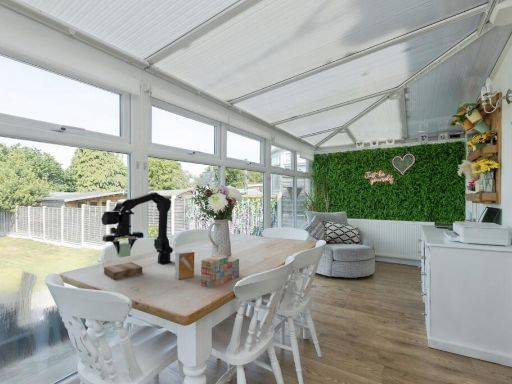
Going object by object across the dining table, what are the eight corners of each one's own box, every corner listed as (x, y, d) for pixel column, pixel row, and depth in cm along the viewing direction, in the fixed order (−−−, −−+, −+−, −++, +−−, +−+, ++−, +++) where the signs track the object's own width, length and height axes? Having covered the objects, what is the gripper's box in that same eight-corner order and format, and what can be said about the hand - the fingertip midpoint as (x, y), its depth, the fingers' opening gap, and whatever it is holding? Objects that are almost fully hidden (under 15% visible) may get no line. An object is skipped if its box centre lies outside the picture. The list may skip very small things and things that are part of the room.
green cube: (126, 254, 140) (126, 243, 140) (130, 255, 137) (130, 244, 137) (116, 255, 136) (116, 244, 136) (120, 257, 133) (120, 245, 133)
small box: (178, 279, 128) (179, 253, 128) (174, 276, 133) (175, 251, 134) (194, 277, 133) (194, 251, 133) (190, 273, 138) (190, 249, 138)
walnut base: (131, 269, 146) (131, 262, 146) (142, 274, 137) (142, 267, 137) (103, 274, 136) (104, 266, 136) (113, 281, 127) (113, 272, 127)
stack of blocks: (229, 274, 139) (230, 251, 139) (239, 276, 135) (239, 252, 135) (200, 286, 121) (201, 259, 121) (210, 288, 117) (211, 261, 117)
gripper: (135, 220, 149) (135, 247, 149) (99, 223, 135) (98, 253, 135) (144, 222, 141) (143, 251, 141) (106, 225, 128) (106, 256, 128)
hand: (123, 252), depth 137 cm, fingers closed on green cube, 5 cm apart
